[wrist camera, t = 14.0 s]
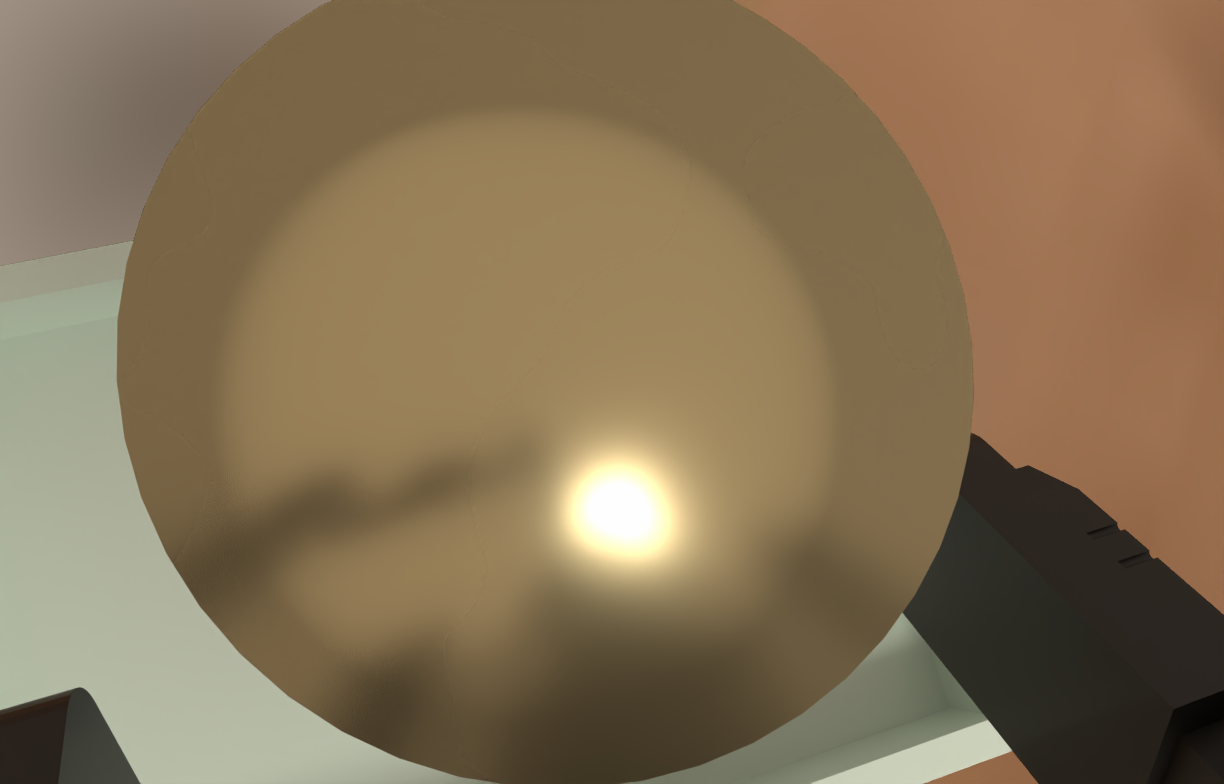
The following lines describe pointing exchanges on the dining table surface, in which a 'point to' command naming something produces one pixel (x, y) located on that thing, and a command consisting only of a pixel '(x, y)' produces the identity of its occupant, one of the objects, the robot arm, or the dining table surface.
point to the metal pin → (545, 378)
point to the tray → (212, 667)
